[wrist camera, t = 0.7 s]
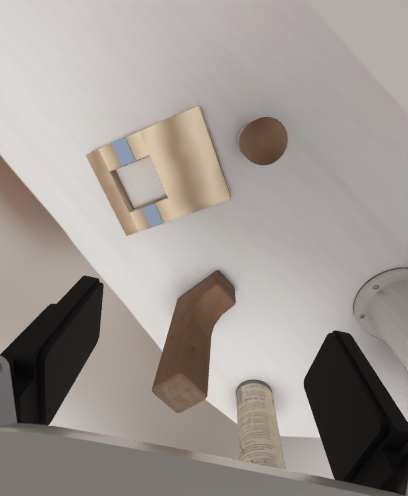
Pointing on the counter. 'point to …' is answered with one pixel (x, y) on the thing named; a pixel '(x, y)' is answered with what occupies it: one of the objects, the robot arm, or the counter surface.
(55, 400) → the robot arm
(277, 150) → the two-tone cylinder
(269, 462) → the aerosol can
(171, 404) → the wooden block
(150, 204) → the board
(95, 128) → the counter surface
